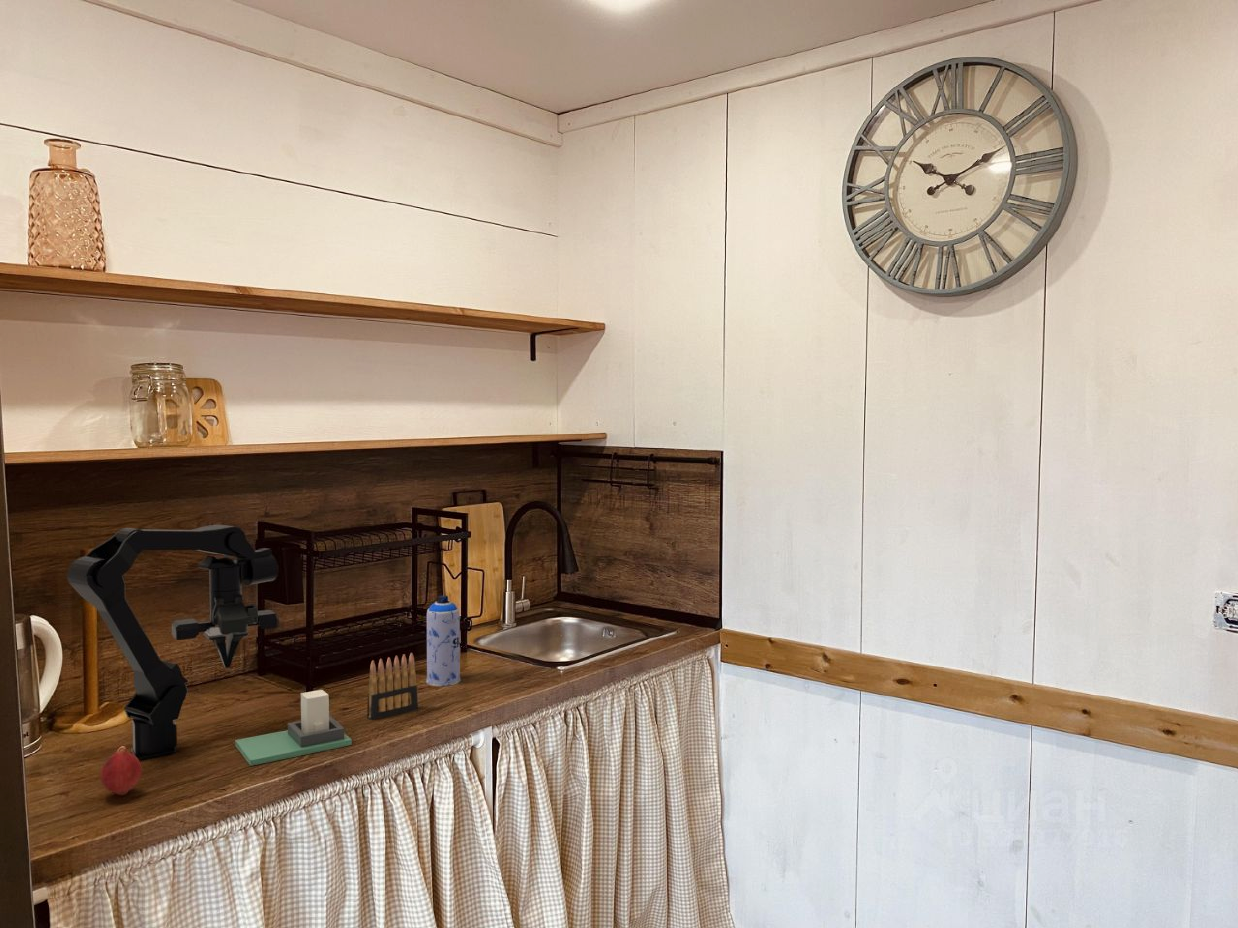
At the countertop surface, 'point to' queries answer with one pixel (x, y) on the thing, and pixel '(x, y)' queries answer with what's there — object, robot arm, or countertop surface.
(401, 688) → the ammunition clip
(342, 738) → the board
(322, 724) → the plug
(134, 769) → the onion
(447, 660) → the aerosol can
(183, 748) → the countertop surface
